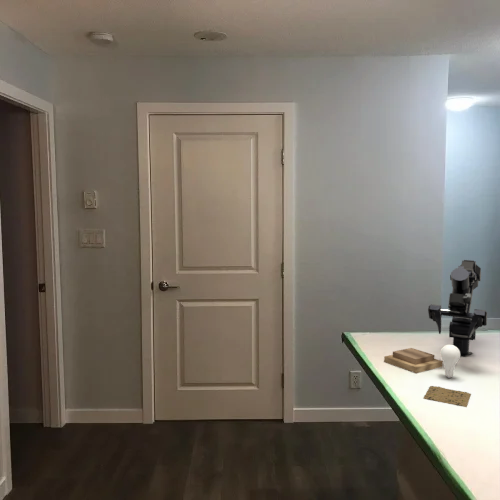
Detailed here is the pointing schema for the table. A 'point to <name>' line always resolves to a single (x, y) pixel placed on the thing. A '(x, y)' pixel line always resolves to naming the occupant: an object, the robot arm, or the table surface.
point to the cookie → (447, 396)
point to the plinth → (411, 366)
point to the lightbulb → (450, 358)
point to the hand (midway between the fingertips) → (453, 335)
